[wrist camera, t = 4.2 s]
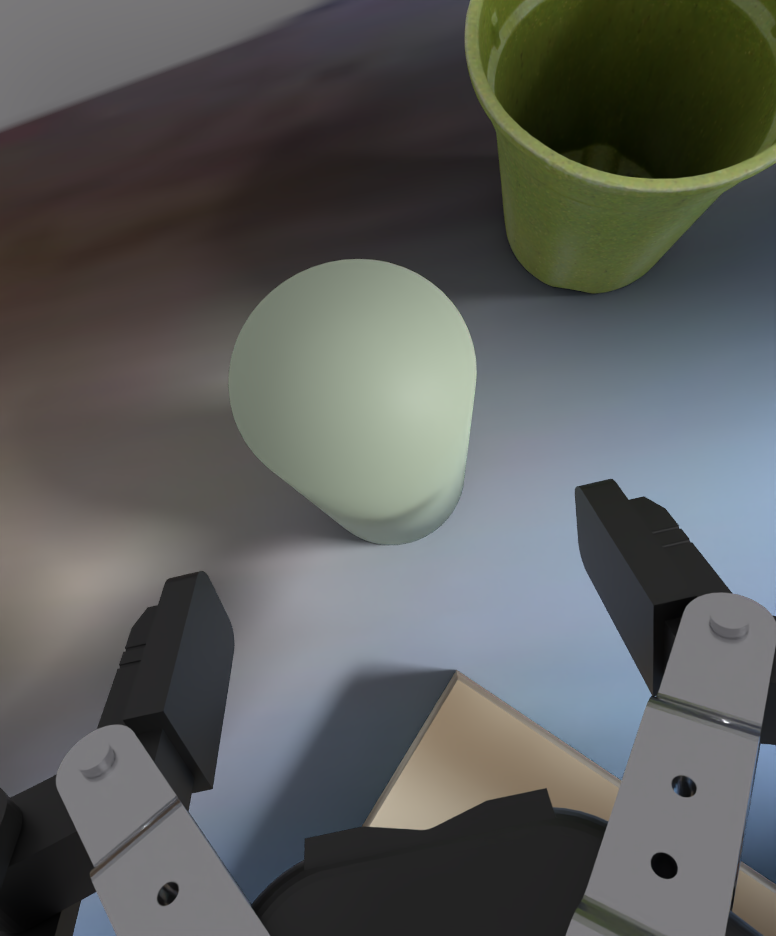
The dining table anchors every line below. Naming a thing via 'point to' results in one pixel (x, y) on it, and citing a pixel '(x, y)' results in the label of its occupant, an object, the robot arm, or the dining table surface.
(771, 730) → the robot arm
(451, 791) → the birch base
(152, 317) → the dining table surface
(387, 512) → the sage post
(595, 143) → the plant pot
